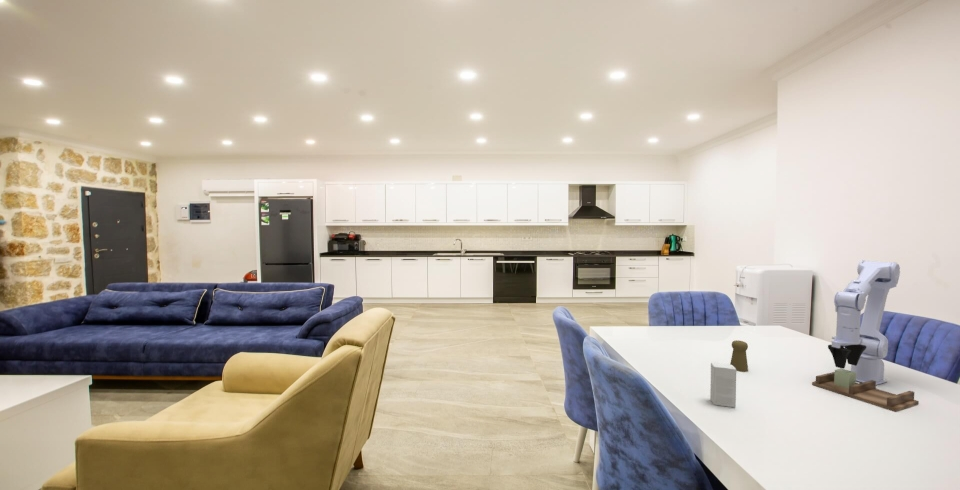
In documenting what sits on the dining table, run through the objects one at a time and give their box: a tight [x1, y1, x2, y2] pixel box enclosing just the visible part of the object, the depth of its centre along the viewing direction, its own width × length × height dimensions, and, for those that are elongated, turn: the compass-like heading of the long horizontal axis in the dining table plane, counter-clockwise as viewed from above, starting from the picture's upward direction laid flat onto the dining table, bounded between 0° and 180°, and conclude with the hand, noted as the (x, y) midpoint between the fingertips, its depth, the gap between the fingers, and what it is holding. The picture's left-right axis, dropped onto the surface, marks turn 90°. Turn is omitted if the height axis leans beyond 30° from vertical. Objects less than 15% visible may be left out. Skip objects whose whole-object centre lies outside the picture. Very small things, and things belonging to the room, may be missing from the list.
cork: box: [729, 340, 749, 373], centre depth 147 cm, size 6×6×11 cm
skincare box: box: [709, 362, 737, 408], centre depth 117 cm, size 6×4×12 cm
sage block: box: [834, 368, 857, 389], centre depth 129 cm, size 4×4×5 cm
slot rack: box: [811, 371, 920, 413], centre depth 125 cm, size 14×21×4 cm, turn 22°
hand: (846, 366), depth 129 cm, fingers open, 7 cm apart
